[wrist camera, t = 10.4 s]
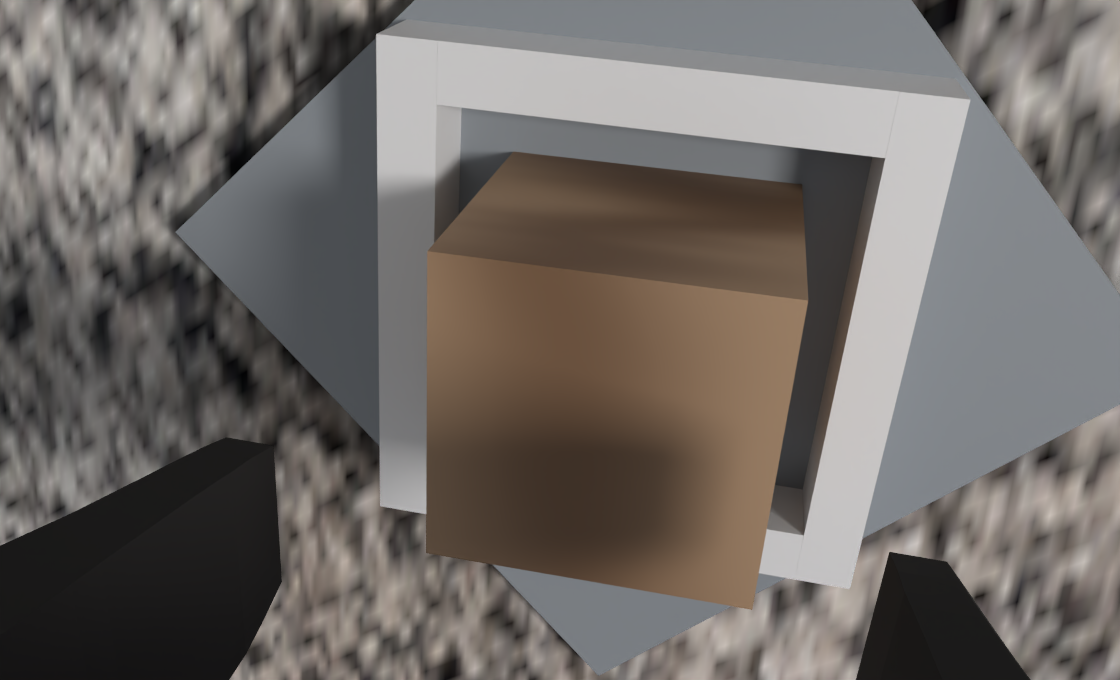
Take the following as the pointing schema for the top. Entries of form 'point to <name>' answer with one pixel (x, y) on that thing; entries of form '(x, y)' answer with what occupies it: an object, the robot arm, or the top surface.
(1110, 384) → the base plate
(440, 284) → the block
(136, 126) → the top surface
